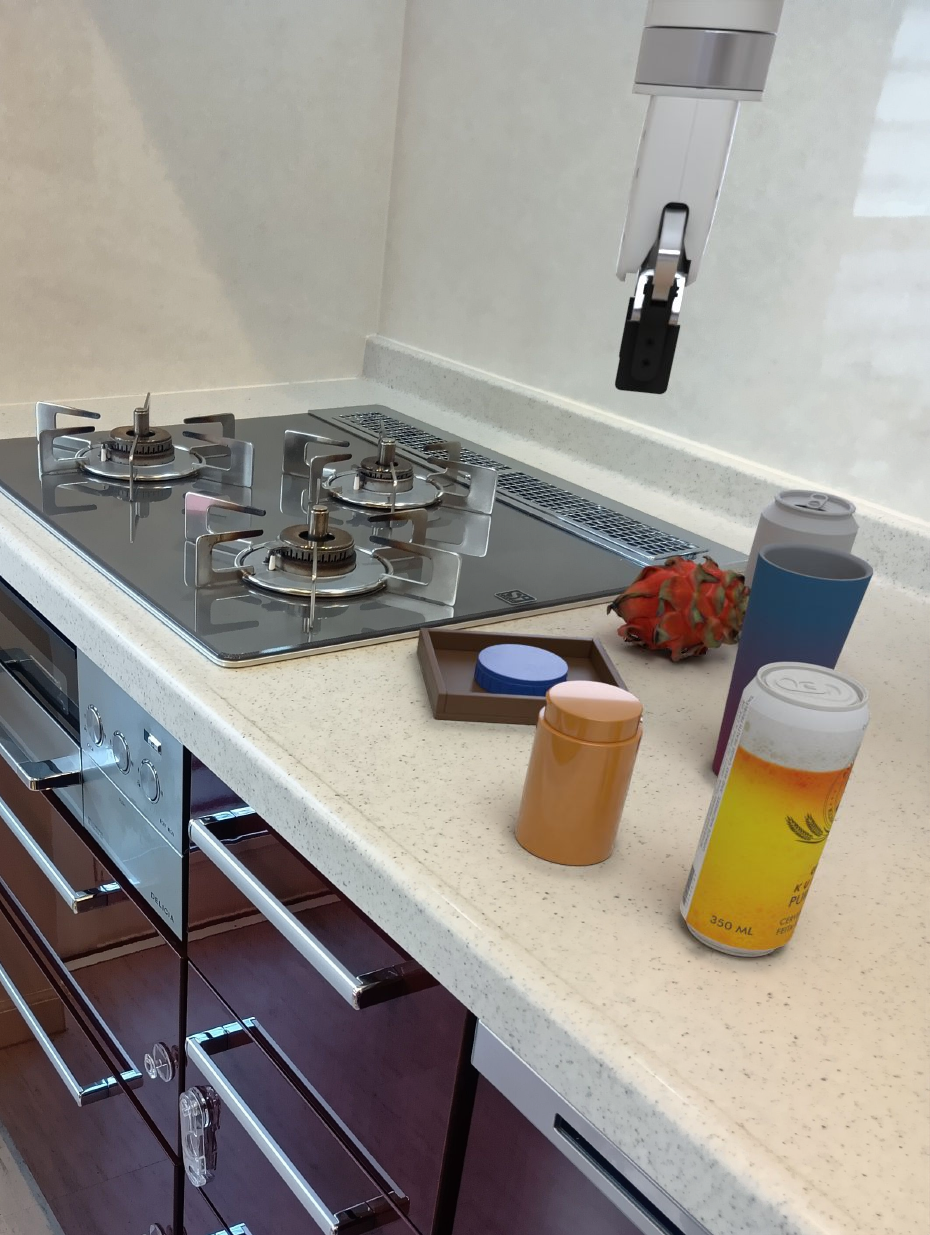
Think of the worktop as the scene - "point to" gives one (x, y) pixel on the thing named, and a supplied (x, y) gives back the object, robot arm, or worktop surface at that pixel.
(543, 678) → the lid
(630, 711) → the jar
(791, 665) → the beer can
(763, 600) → the cup
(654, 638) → the dragon fruit
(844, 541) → the can
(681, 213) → the robot arm
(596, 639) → the tray
